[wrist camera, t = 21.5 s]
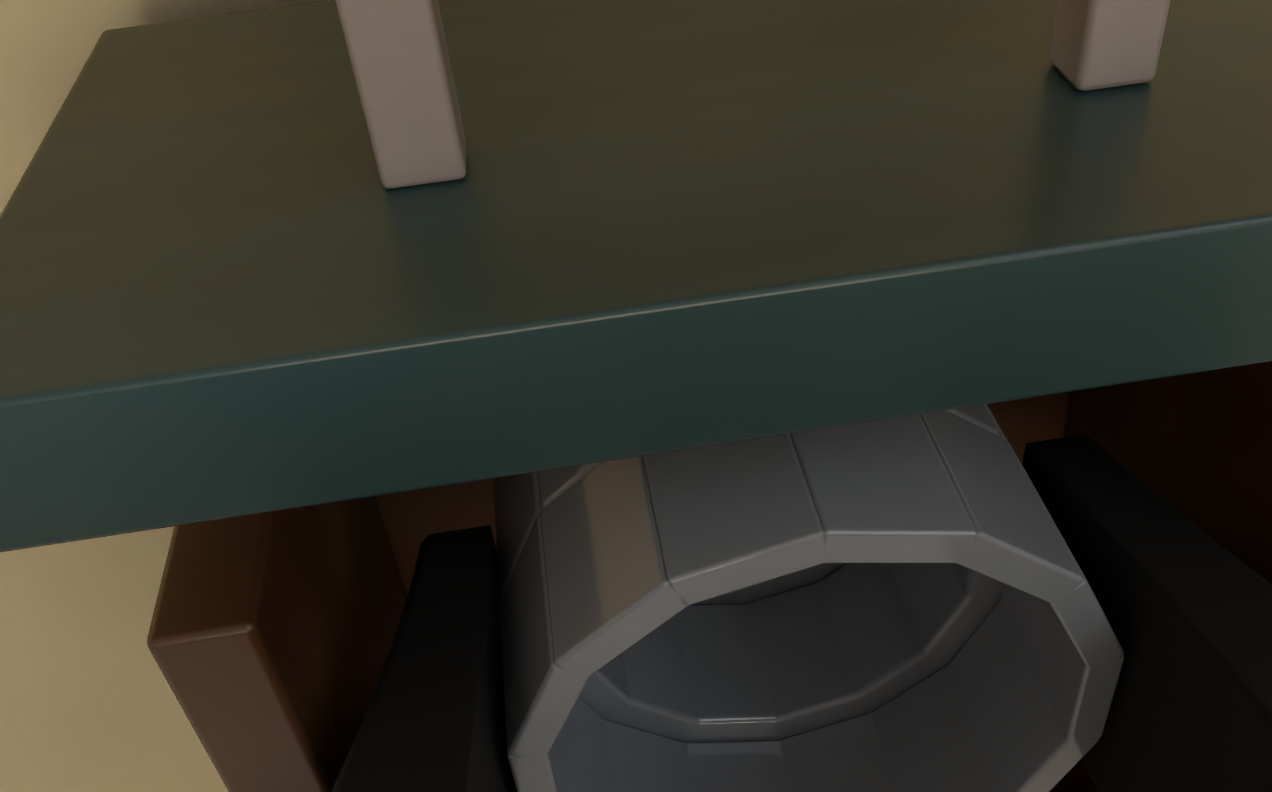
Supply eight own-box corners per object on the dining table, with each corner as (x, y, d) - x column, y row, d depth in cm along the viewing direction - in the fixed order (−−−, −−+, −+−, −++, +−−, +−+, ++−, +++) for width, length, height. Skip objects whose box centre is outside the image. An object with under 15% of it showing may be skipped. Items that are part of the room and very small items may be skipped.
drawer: (-178, -689, 8) (-934, -829, 4) (1423, -855, 8) (2485, -1156, 4) (402, 800, 20) (392, 1192, 15) (1055, 695, 20) (1225, 1045, 16)
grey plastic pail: (533, 645, 15) (557, 944, 12) (454, 291, 11) (460, 591, 8) (947, 580, 15) (1068, 857, 12) (993, 213, 12) (1178, 477, 9)
